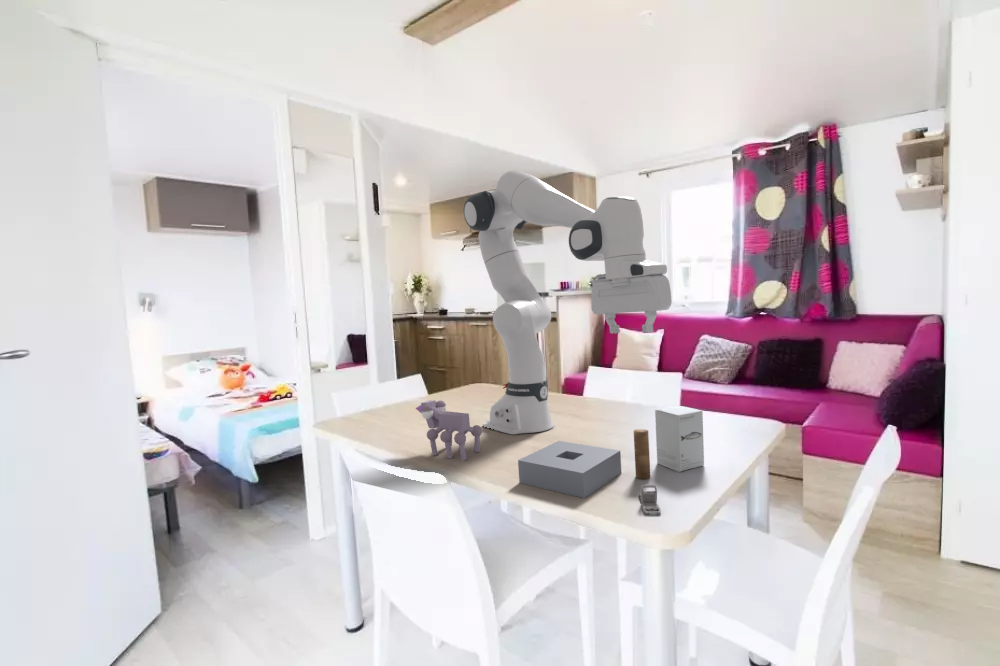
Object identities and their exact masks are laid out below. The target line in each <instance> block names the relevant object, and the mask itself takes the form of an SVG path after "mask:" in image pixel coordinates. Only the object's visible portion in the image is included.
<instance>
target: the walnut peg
mask: <svg viewBox="0 0 1000 666" xmlns="http://www.w3.org/2000/svg"><path fill="white" fill-rule="evenodd" d="M633 444H634V445H633V447H634V465H635V466H634V468H635V478H636V479H638V480H650V479H651V463H650V462H651V461H650V460H651V459H650V439H649V430H648V429H644V428H638V429H637V428H635V429H634V430H633Z"/></svg>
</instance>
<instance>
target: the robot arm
mask: <svg viewBox="0 0 1000 666" xmlns="http://www.w3.org/2000/svg"><path fill="white" fill-rule="evenodd" d="M463 205H464V206H463V217H464V220H465V223H466V224H467V225H468V226H469V228H470V229H471V230H473V231H475V232H478V243H479V249H480V253H481V256H482V260H483V262H484V265H485V268H486V271H487V274H488V277H489V279H490V283H491V285H492V287H493V288H492V289H494V290H495V291H496V293H498V294H499V295H500V296H501V298H502V300H503V301H504V303H503V304H501V305H500V306H498V307H497V308H496V309H495V311H494V312H493V316H492V323H493V327H494V329H495V331H496V332H497V333H498V334H499V335H500V337H501V340H502V344H503V346H504V349H505V352H506V356H507V365H508V367H507V368H508V380H509V381H508V382H507V383H505V384H502V385H501V386H503V387H502V389H504V390H505V389H506V390H505V392H504V393H505V394H504V395H503V396H502V397H500V398H499V399H498V400H497V401H496V402H495V403H494V404H492V406H491V408H490V411H489V419H487V420H486V421H484V422H483V423H482V427H483V426H484V427H483V428H485V427H487V428H486V429H489V428H491V429H490V430H493V429H494V430H493V431H497V432H501V433H505V434H509V435H518V434H528V433H529V434H531V433H532V434H533V433H538V432H539V433H540V432H544V431H548V430H551V429H553V428H554V425H555V424H554V422H553V419H552V416H551V412H550V406H549V402H548V396H549V395H548V394H549V387H548V380H547V379H546V366H545V365H546V363H545V361H546V360H545V355H544V352H543V351H542V349H541V348H540V345H539V342H538V338H537V337H538V336H537V334H539V333H540V332H543V331H544V330H545V329H546V328H547V327H548V326H549V325H550V322H551V321H552V310H551V308H550V307H549V305H548V304H547V303H546V302H545V301H544V300H543V299H542V297H541V295H540V294H539V292H538V291H537V289H536V287H535V286H534V284H533V282H532V281H531V279H530V275H528V272H527V270H526V268H525V267H526V266H525V264H524V262H523V259H522V256H521V254H520V251H519V248H518V246H517V244H516V241H515V238H514V231H515V229H516V230H518V231H521V230H522V229H523V228H524V226H525V224H526V223H529V224H533V225H534V226H535V225H536V226H543V227H544V226H545V227H546V226H547V227H548V226H549V227H561V228H562V227H563V228H564V227H565V228H569V229H570V231H569V234H568V247H569V250H570V252H571V254H572V255H573V256H574V257H575V259H577V260H581V261H586V262H588V261H589V262H590V261H593V262H594V261H595V262H596V261H597V262H599V261H600V262H602V261H603V262H604V272H605V273H603V274H601V273H600V274H596V275H595V277H594V278H593V280H592V287H591V296H590V297H591V299H590V300H591V301H590V303H591V304H590V306H591V311H592V313H593V314H594V315H604V320H605V322H606V323H607V325H608V326H609V333H610V334H620V332H621V330H620V325H619V324H617V322H616V321H615V319H616V314H626V313H641V312H644V317H645V318H646V321H645V324H641V329H642V331H641V332H642V333H643V334H652V333H653V332H654V323H655V320H657V319H656V318H657V316H658V313H657V312H658V311H660V312H661V311H667V310H669V309H670V308H671V305H672V302H673V301H672V292H671V286H670V280H669V279H668V277H667V276H666V274H667V272H668V267H667V264H665V263H661V262H659V261H658V262H657V261H652V260H649V259H647V258H646V257H647V256H646V250H645V248H644V236H645V232H644V222H643V221H644V220H643V214H642V210H641V206H640V204H639V202H638V200H637V199H636V198H634V197H630V196H609V197H605V198H604V199H602V200H601V202H600V204H599V206H598V207H597V208H596V209H593V208H590V207H588V206H586V205H584V204H582V203H580V202H578V201H576V200H574V199H572V198H571V197H569V196H568V195H565V194H564V193H562V192H561V191H560V190H557V189H556V188H554V187H552V186H551V185H549V184H548V183H546V182H544V181H542V180H541V179H539V178H538V177H536V176H534V175H532V174H530V173H527V172H524V171H521V170H520V171H519V170H515V169H513V170H508V171H507V172H504V173H503V174H502V175H501V176H500V178H499V179H498V181H497V184H496V189H493V190H488V191H487V190H484V191H480V192H477V193H474V194H473V195H471V196H469V197H468V198H467V199H466V201H465V202H464V204H463Z"/></svg>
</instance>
